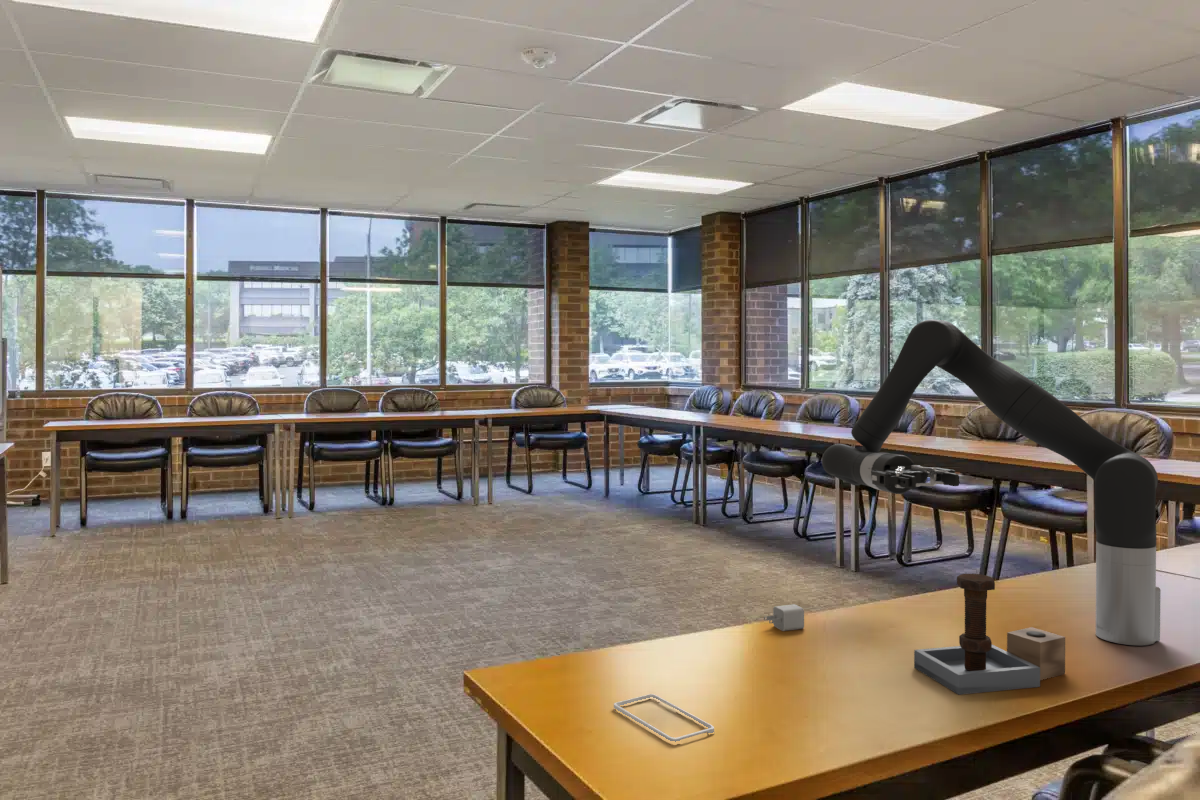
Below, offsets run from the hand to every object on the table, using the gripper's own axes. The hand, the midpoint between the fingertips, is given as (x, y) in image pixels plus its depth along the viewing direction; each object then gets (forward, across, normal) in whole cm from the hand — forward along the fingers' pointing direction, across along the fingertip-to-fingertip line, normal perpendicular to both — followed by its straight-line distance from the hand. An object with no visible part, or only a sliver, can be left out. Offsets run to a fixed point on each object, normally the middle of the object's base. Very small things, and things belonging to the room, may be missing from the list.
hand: (935, 481), depth 153 cm
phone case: (+21, -57, +29) cm, 68 cm away
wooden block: (+16, +7, +29) cm, 34 cm away
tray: (+16, -4, +29) cm, 34 cm away
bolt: (+16, -4, +28) cm, 33 cm away
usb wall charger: (-15, -23, +29) cm, 40 cm away
